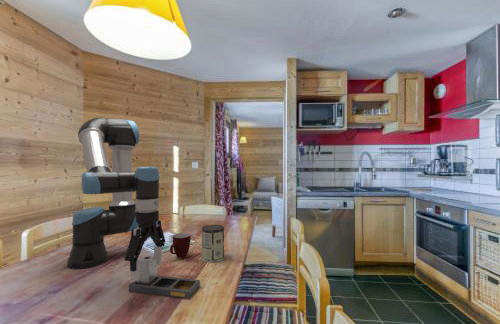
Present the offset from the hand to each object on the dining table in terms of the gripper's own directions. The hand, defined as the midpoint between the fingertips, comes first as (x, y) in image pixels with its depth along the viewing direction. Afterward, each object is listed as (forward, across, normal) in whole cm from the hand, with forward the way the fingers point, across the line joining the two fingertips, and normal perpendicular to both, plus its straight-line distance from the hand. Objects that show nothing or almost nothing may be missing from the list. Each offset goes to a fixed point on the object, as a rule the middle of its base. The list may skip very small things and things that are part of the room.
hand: (147, 271), depth 88 cm
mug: (+6, +28, +2) cm, 29 cm away
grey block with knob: (+5, 0, 0) cm, 5 cm away
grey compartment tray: (+6, 0, -7) cm, 9 cm away
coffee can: (+6, +31, -13) cm, 34 cm away
